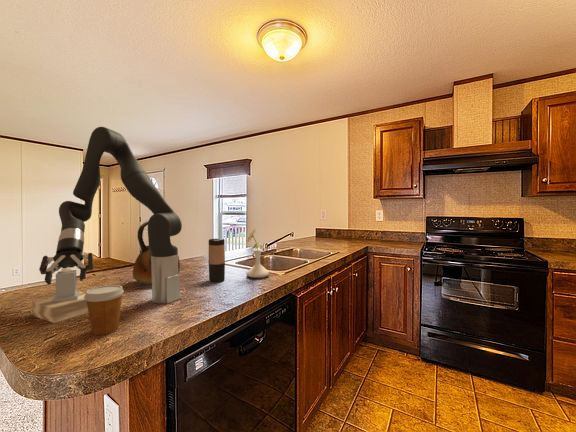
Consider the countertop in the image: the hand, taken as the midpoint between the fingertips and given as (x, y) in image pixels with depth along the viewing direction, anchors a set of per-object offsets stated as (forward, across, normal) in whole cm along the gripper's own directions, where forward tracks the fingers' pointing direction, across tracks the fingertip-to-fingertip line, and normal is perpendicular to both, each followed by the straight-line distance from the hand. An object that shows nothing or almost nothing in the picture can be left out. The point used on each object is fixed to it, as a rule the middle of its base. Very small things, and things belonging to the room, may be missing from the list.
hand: (65, 281), depth 91 cm
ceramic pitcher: (-11, +30, +27) cm, 42 cm away
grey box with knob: (+3, 0, +6) cm, 6 cm away
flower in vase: (-1, +74, +16) cm, 76 cm away
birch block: (+7, 0, +9) cm, 11 cm away
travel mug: (-3, +55, +19) cm, 58 cm away
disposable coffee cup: (+23, +12, -8) cm, 27 cm away
